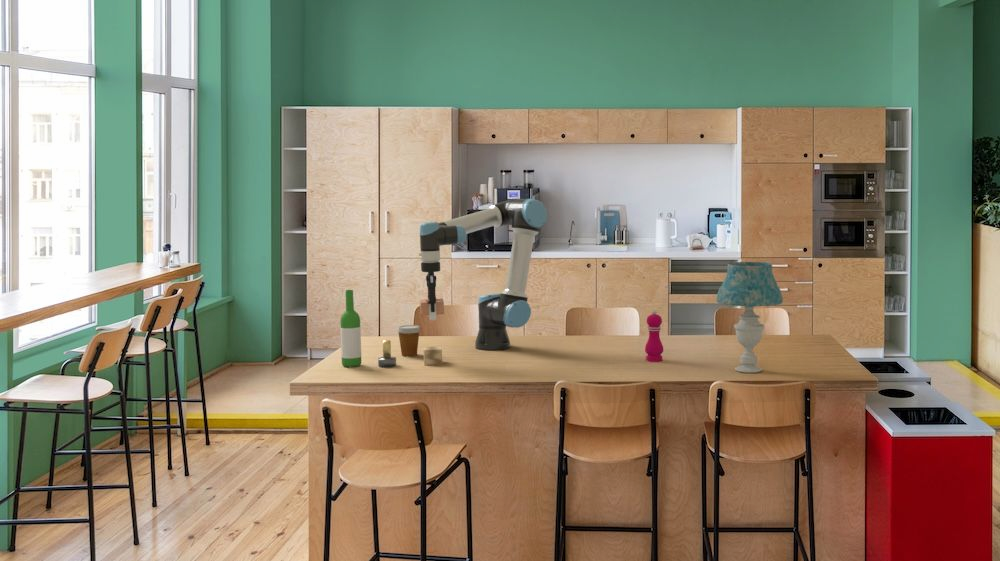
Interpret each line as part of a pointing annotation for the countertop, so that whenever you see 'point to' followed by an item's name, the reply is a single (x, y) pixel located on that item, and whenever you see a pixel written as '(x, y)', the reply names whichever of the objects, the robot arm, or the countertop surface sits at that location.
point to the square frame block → (425, 307)
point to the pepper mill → (654, 338)
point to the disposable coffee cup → (409, 339)
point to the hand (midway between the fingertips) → (432, 318)
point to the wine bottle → (350, 334)
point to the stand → (432, 355)
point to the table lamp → (749, 304)
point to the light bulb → (387, 356)
